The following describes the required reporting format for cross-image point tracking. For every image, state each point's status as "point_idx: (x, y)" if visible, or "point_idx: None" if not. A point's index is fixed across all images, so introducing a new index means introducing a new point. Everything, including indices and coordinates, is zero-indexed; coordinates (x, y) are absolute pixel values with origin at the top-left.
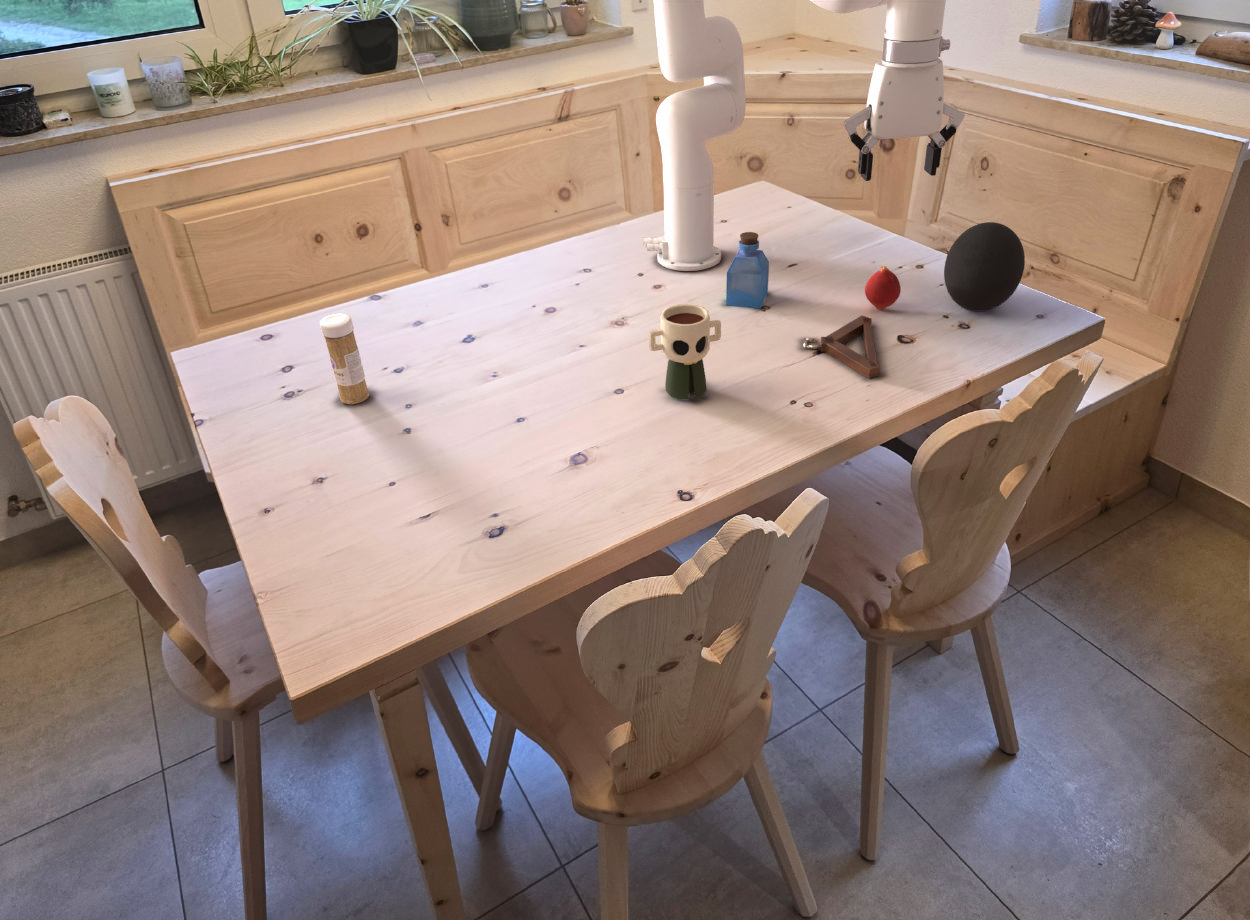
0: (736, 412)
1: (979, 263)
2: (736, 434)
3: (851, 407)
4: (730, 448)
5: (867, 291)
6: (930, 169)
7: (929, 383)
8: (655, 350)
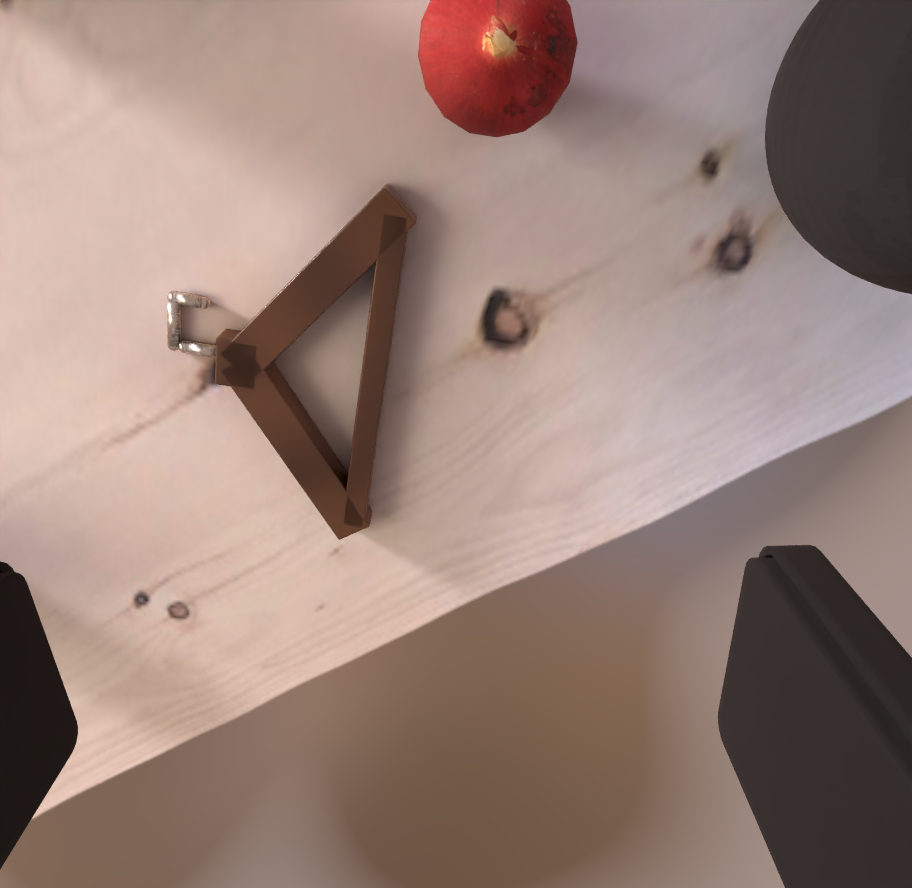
0: None
1: (897, 270)
2: None
3: (279, 628)
4: None
5: (422, 72)
6: (740, 753)
7: (490, 555)
8: None
